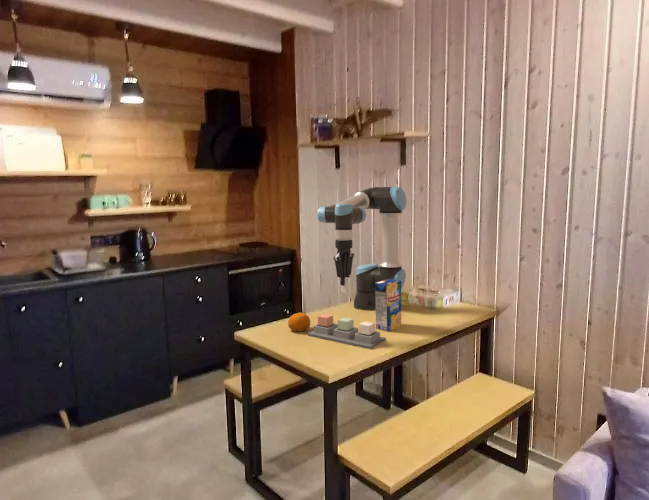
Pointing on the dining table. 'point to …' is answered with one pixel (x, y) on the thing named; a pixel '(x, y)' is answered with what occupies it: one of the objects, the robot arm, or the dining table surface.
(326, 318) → the button terracotta
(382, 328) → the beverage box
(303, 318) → the fruit
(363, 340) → the button board
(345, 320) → the button sage
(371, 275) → the robot arm
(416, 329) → the dining table surface
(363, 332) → the button ivory
